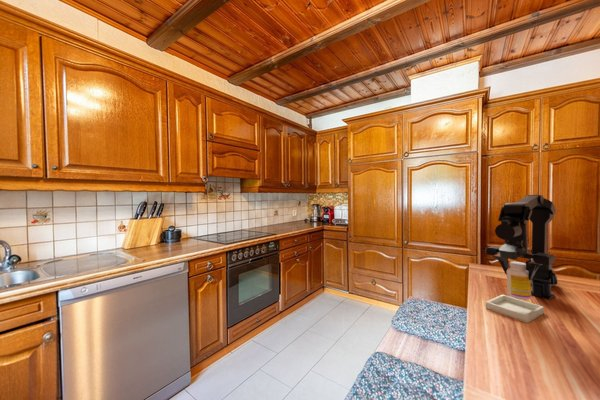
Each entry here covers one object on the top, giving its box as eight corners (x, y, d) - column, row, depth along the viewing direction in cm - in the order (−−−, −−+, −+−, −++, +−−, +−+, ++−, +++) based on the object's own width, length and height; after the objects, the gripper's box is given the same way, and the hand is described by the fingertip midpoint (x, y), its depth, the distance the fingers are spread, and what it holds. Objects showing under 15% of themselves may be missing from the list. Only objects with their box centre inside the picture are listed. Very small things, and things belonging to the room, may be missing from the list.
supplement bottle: (536, 300, 84) (535, 265, 84) (515, 300, 86) (513, 265, 85) (522, 293, 91) (521, 260, 91) (503, 292, 92) (501, 260, 92)
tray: (502, 300, 97) (502, 294, 97) (544, 313, 86) (543, 306, 86) (485, 308, 92) (485, 301, 92) (527, 323, 80) (527, 316, 80)
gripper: (477, 235, 93) (478, 274, 93) (540, 243, 76) (542, 290, 76) (492, 232, 97) (493, 268, 98) (555, 238, 81) (556, 283, 81)
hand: (518, 276), depth 88 cm, fingers closed on supplement bottle, 7 cm apart
